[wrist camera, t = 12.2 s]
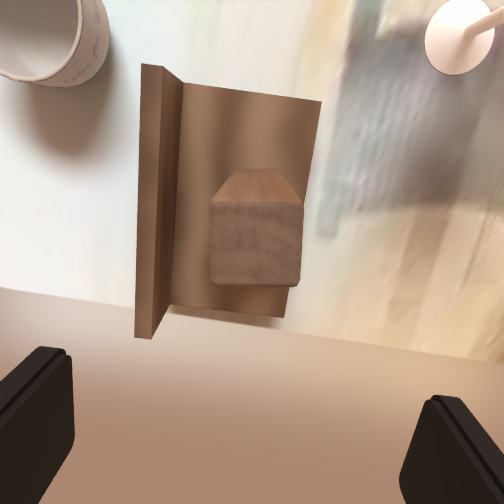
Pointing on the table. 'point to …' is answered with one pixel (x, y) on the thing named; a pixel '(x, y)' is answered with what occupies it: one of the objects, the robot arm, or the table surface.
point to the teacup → (53, 40)
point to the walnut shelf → (206, 186)
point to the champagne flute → (461, 35)
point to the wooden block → (256, 231)
